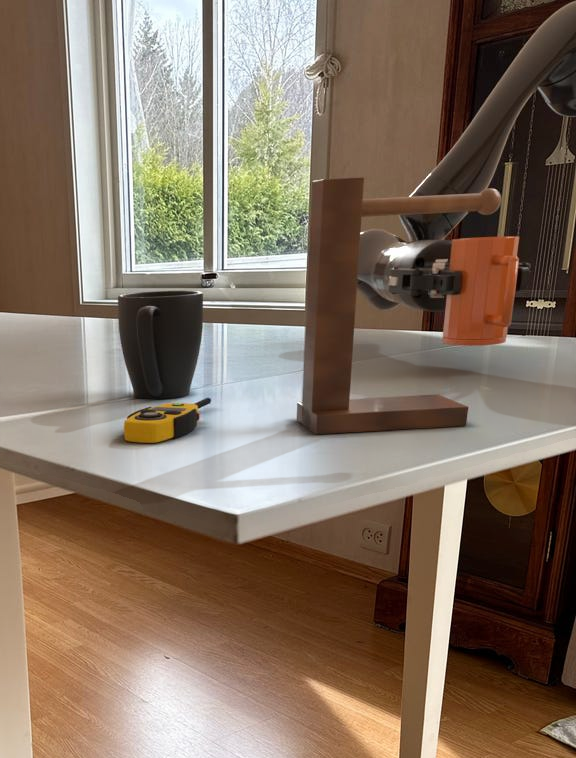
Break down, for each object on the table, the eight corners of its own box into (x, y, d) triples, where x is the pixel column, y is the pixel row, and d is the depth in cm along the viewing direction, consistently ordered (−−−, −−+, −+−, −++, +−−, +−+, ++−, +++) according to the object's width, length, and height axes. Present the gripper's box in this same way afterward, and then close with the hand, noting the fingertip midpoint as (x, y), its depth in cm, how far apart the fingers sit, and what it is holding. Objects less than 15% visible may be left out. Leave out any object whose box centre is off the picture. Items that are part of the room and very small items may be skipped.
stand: (458, 410, 78) (485, 173, 70) (490, 424, 72) (523, 168, 65) (296, 420, 77) (306, 182, 70) (315, 434, 72) (329, 177, 64)
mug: (100, 408, 86) (96, 301, 82) (132, 387, 97) (129, 291, 93) (186, 409, 84) (185, 299, 80) (209, 387, 95) (209, 289, 91)
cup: (432, 340, 98) (442, 239, 94) (489, 337, 99) (501, 236, 95) (473, 351, 89) (486, 239, 85) (536, 347, 89) (551, 236, 85)
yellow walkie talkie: (110, 417, 72) (184, 386, 84) (111, 441, 73) (185, 407, 85) (166, 420, 70) (234, 388, 82) (167, 445, 71) (234, 409, 83)
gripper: (367, 243, 105) (424, 244, 89) (491, 236, 105) (568, 236, 90) (363, 312, 108) (416, 325, 92) (483, 305, 108) (556, 317, 93)
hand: (491, 281), depth 91 cm, fingers closed on cup, 6 cm apart
